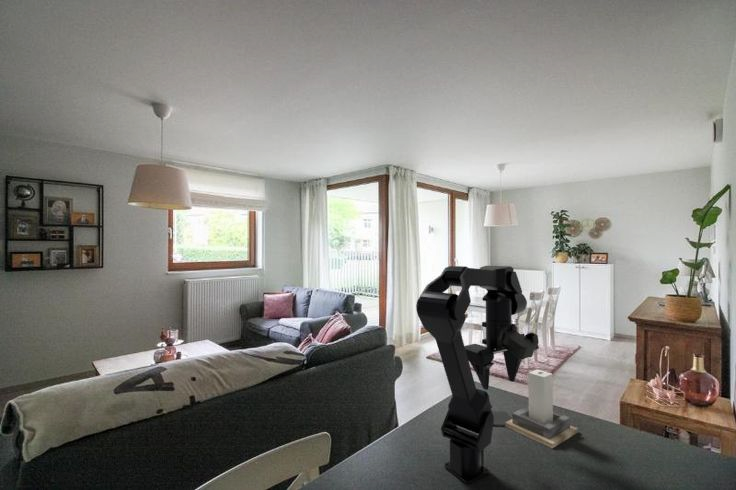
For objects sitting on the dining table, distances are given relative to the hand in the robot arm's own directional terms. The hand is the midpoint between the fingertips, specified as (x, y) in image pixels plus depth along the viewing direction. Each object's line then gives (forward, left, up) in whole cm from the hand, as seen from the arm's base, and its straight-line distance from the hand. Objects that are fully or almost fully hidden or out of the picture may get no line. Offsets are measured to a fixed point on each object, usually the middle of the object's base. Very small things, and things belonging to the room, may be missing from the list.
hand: (499, 385), depth 83 cm
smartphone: (+5, +9, -14) cm, 17 cm away
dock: (+13, -2, -13) cm, 18 cm away
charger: (+13, -2, -12) cm, 18 cm away
